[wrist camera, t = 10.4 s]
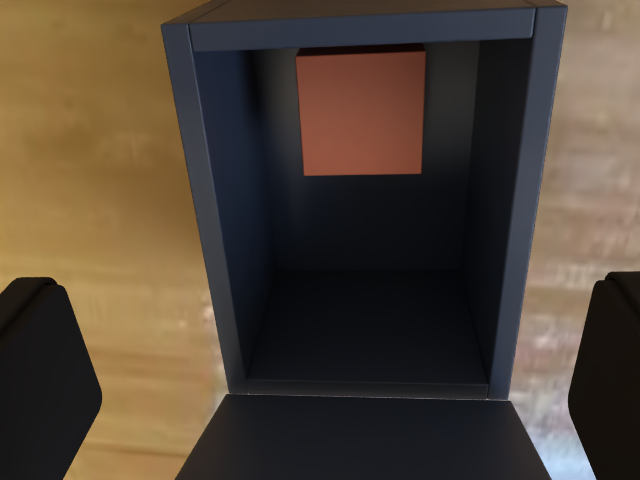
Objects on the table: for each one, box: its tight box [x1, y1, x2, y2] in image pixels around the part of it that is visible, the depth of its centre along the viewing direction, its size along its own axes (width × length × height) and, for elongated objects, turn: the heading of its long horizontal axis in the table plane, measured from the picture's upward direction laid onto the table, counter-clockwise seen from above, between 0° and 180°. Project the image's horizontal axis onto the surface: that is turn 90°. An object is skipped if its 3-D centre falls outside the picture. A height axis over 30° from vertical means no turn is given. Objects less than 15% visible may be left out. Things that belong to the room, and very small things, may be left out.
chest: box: [161, 0, 568, 400], centre depth 25 cm, size 16×12×10 cm
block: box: [295, 43, 426, 176], centre depth 24 cm, size 5×5×5 cm
